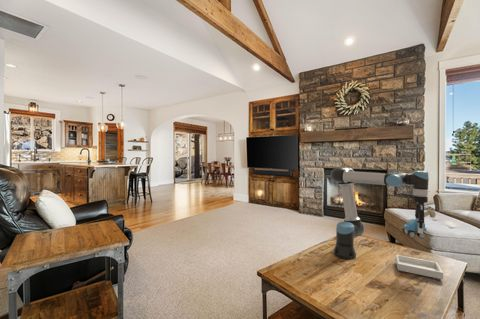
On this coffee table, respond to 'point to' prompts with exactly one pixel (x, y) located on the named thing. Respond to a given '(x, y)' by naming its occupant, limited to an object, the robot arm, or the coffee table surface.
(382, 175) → the robot arm
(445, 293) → the coffee table surface
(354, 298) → the coffee table surface
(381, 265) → the coffee table surface
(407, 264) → the white tray
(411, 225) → the toy excavator
